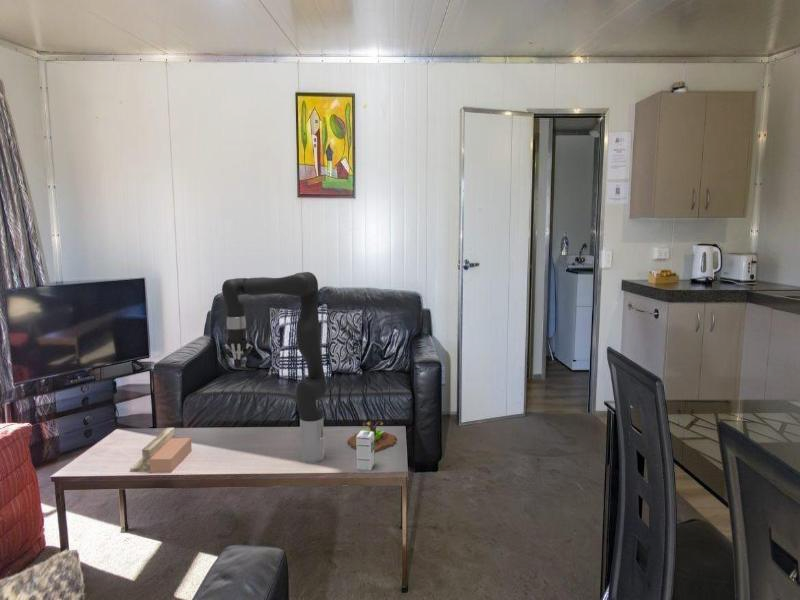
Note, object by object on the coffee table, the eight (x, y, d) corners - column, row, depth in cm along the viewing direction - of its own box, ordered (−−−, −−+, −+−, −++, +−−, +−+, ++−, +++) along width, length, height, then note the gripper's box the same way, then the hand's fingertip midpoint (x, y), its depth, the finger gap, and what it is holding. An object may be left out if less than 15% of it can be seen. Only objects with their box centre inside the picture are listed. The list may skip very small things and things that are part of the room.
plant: (339, 447, 219) (339, 422, 217) (366, 432, 235) (366, 409, 234) (377, 458, 208) (377, 432, 206) (403, 442, 224) (403, 417, 223)
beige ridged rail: (175, 448, 217) (174, 427, 216) (151, 472, 195) (149, 449, 194) (156, 448, 217) (155, 427, 216) (130, 472, 195) (128, 449, 194)
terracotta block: (191, 451, 214) (190, 438, 213) (171, 474, 194) (170, 459, 193) (172, 451, 214) (171, 438, 213) (150, 474, 194) (149, 459, 193)
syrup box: (371, 473, 194) (371, 436, 192) (356, 471, 195) (356, 435, 194) (375, 466, 200) (374, 431, 198) (360, 465, 201) (360, 429, 199)
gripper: (254, 325, 214) (256, 365, 217) (223, 325, 214) (225, 365, 216) (250, 328, 207) (251, 370, 209) (217, 328, 207) (219, 370, 209)
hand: (238, 367), depth 213 cm, fingers closed
